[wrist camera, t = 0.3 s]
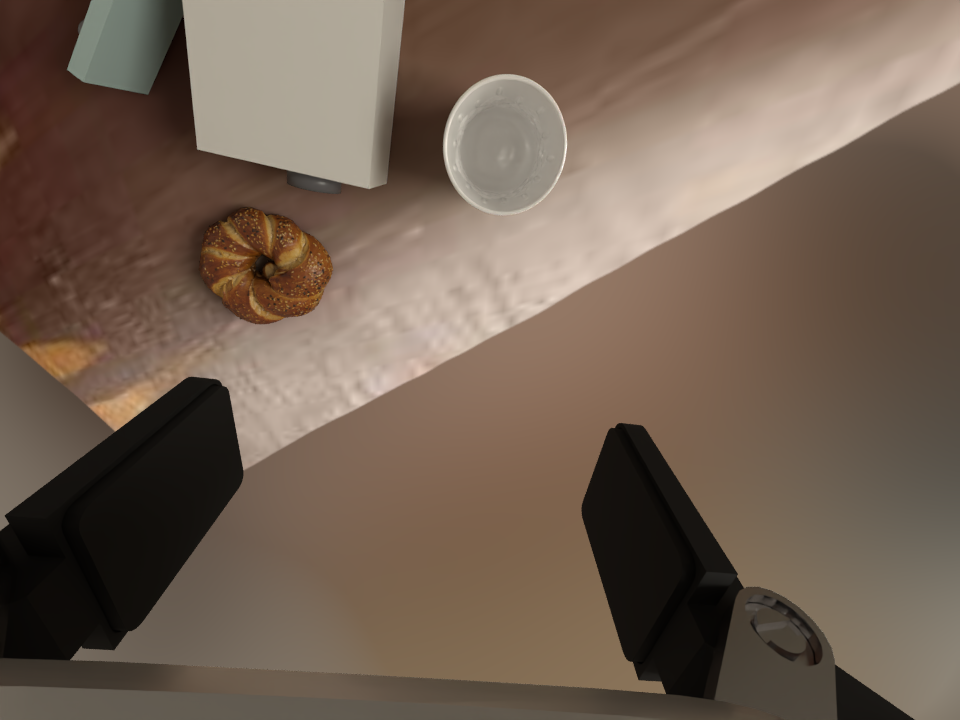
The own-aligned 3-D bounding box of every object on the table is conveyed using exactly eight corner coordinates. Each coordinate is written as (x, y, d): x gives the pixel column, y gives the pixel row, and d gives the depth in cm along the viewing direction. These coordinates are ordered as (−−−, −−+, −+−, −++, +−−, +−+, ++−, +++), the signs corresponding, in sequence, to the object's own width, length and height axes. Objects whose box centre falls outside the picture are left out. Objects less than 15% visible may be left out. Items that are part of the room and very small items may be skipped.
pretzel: (322, 202, 36) (307, 206, 32) (346, 314, 41) (336, 327, 37) (191, 209, 36) (163, 214, 32) (232, 320, 41) (211, 334, 37)
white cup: (532, 207, 36) (551, 223, 27) (446, 194, 35) (437, 206, 26) (551, 106, 32) (581, 86, 23) (456, 89, 32) (449, 62, 23)
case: (234, -93, 27) (165, -164, 21) (409, -41, 28) (391, -94, 22) (246, 166, 34) (199, 167, 28) (385, 198, 35) (367, 205, 29)
